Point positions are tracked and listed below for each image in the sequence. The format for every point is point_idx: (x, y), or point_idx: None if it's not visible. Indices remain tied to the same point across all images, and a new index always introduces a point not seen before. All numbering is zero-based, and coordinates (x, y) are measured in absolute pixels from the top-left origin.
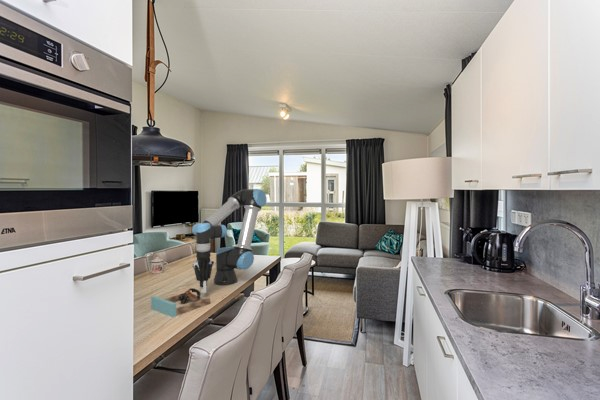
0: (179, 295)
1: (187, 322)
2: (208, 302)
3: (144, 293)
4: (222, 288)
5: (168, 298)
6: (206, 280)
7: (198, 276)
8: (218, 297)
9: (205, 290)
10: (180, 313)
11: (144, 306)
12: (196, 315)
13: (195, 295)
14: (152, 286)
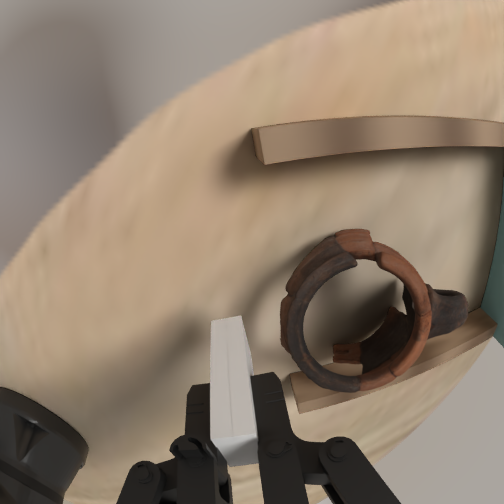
0: (467, 313)
1: (487, 3)
2: (274, 125)
3: (373, 458)
4: (49, 378)
5: (448, 352)
6: (203, 444)
7: (396, 498)
8: (107, 239)
9: (220, 334)
10: (492, 121)
11: (474, 351)
12: (440, 15)
13: (385, 258)
14: (311, 491)
